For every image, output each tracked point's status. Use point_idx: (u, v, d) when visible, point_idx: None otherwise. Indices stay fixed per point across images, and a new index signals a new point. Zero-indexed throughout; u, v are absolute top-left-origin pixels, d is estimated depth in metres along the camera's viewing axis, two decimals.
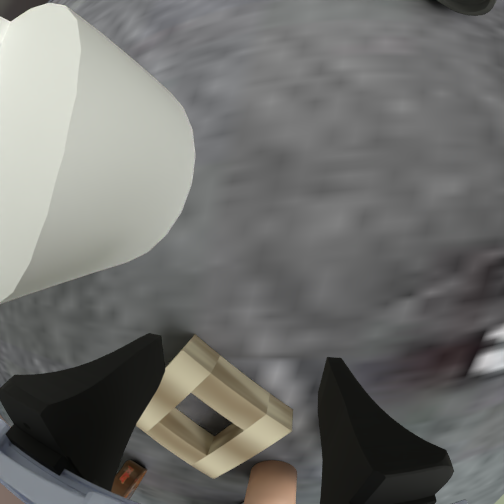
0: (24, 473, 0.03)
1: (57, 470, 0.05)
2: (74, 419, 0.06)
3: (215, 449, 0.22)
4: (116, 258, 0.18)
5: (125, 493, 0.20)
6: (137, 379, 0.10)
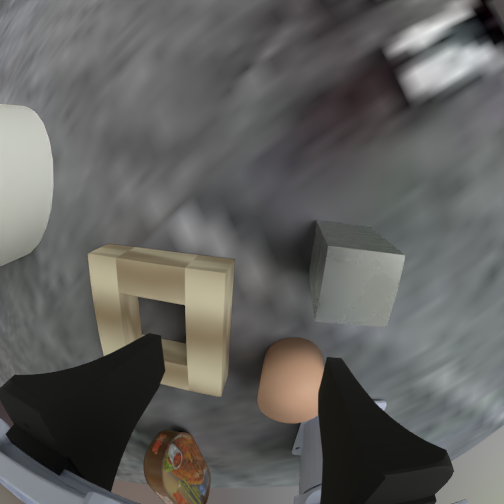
0: (24, 473, 0.03)
1: (57, 470, 0.05)
2: (74, 419, 0.06)
3: (187, 352, 0.21)
4: (13, 215, 0.18)
5: (161, 463, 0.21)
6: (137, 379, 0.10)
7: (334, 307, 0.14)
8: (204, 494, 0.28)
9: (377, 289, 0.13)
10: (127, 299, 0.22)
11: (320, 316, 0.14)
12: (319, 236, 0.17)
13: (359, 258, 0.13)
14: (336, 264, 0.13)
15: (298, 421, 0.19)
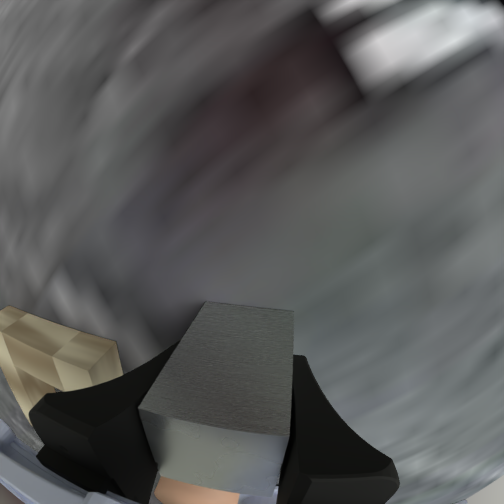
0: (24, 473, 0.03)
1: None
2: (119, 438, 0.06)
3: None
4: None
5: None
6: None
7: (179, 471, 0.07)
8: None
9: (242, 467, 0.07)
10: None
11: (165, 473, 0.08)
12: None
13: (196, 432, 0.06)
14: (160, 432, 0.07)
15: None
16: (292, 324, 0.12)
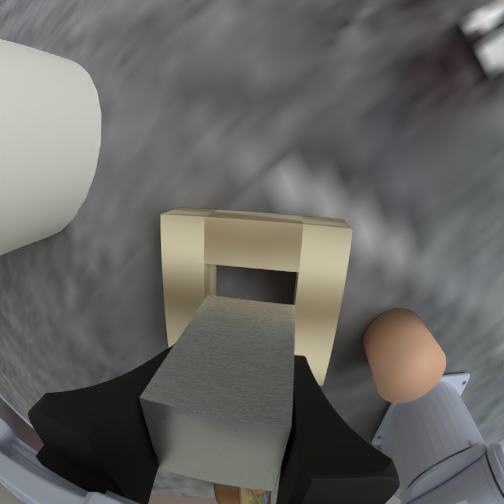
0: (24, 473, 0.03)
1: None
2: (119, 438, 0.06)
3: None
4: (51, 169, 0.15)
5: None
6: None
7: (179, 464, 0.07)
8: (266, 503, 0.25)
9: (243, 459, 0.07)
10: (209, 274, 0.18)
11: (165, 466, 0.08)
12: None
13: (198, 422, 0.07)
14: (161, 422, 0.07)
15: (412, 398, 0.16)
16: (293, 317, 0.12)
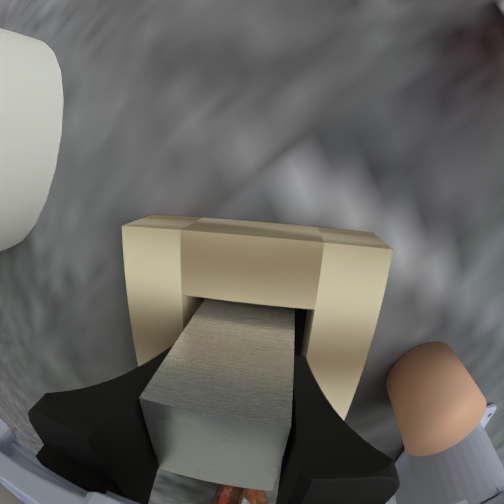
0: (24, 473, 0.03)
1: None
2: (119, 438, 0.06)
3: None
4: None
5: None
6: None
7: (179, 463, 0.07)
8: None
9: (243, 459, 0.07)
10: (191, 306, 0.13)
11: (165, 466, 0.08)
12: None
13: (197, 422, 0.07)
14: (161, 422, 0.07)
15: (442, 449, 0.11)
16: (293, 317, 0.12)
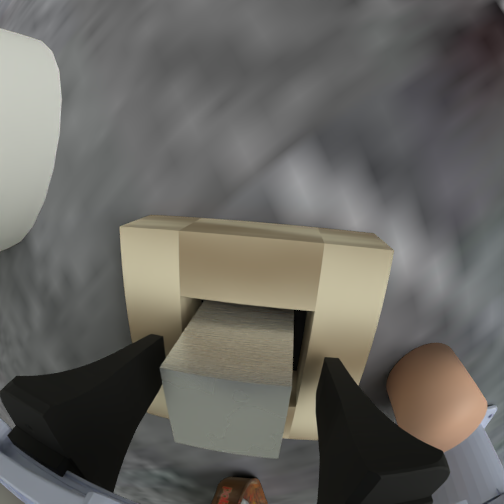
0: (24, 473, 0.03)
1: (57, 470, 0.05)
2: (77, 420, 0.06)
3: (299, 386, 0.13)
4: None
5: None
6: (139, 380, 0.10)
7: (193, 434, 0.09)
8: None
9: (250, 423, 0.08)
10: (190, 307, 0.13)
11: (179, 438, 0.09)
12: None
13: (211, 386, 0.08)
14: (178, 390, 0.08)
15: None
16: None
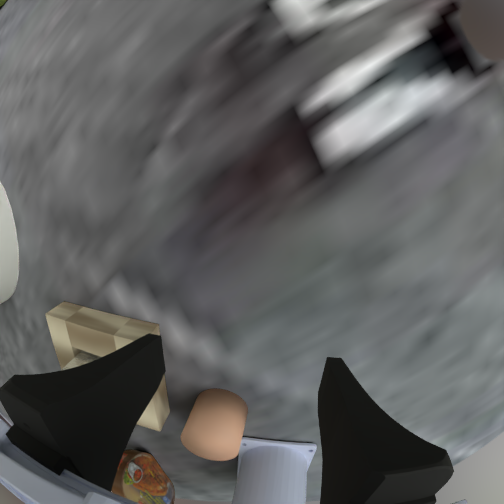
0: (24, 473, 0.03)
1: (57, 470, 0.05)
2: (74, 419, 0.06)
3: None
4: None
5: (121, 478, 0.23)
6: (137, 379, 0.10)
7: None
8: None
9: None
10: (80, 349, 0.23)
11: None
12: None
13: None
14: None
15: (219, 459, 0.21)
16: None
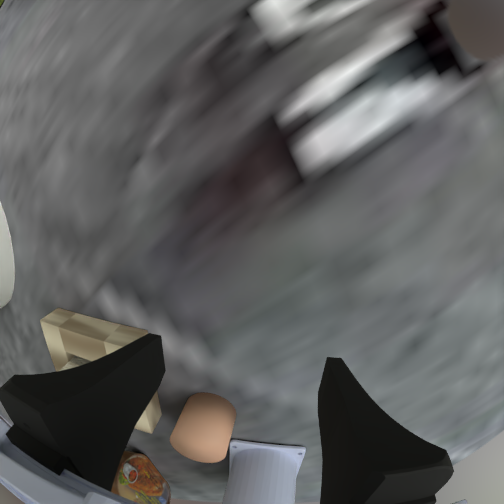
0: (24, 473, 0.03)
1: (57, 470, 0.05)
2: (74, 419, 0.06)
3: None
4: None
5: (117, 478, 0.23)
6: (137, 379, 0.10)
7: None
8: None
9: None
10: (74, 354, 0.24)
11: None
12: None
13: None
14: None
15: (208, 461, 0.21)
16: None
